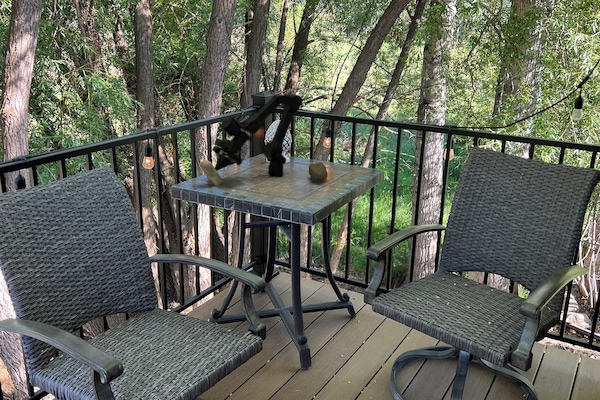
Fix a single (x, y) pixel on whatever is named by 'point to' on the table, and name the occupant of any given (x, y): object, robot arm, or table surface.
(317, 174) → the stone
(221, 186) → the rubber mat
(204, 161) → the maple block
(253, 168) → the table surface
